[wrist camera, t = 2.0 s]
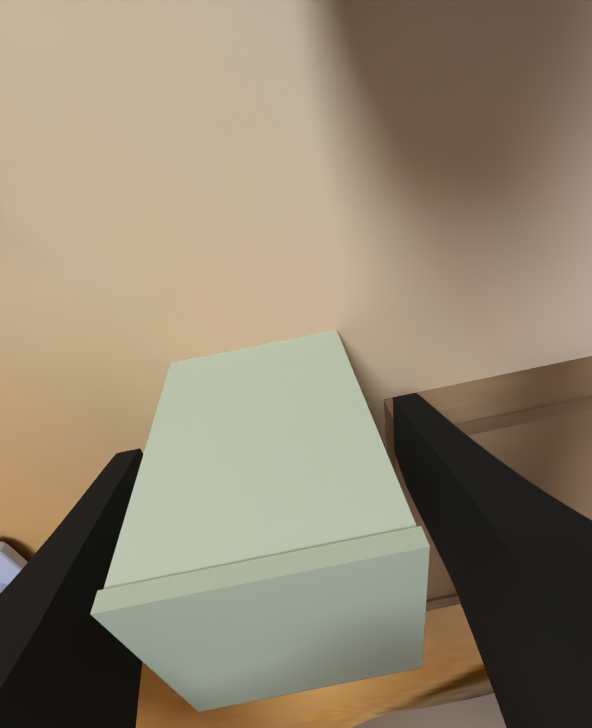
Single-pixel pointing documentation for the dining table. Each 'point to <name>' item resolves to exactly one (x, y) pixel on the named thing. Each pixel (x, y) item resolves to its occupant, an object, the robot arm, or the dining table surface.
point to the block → (267, 533)
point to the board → (517, 439)
